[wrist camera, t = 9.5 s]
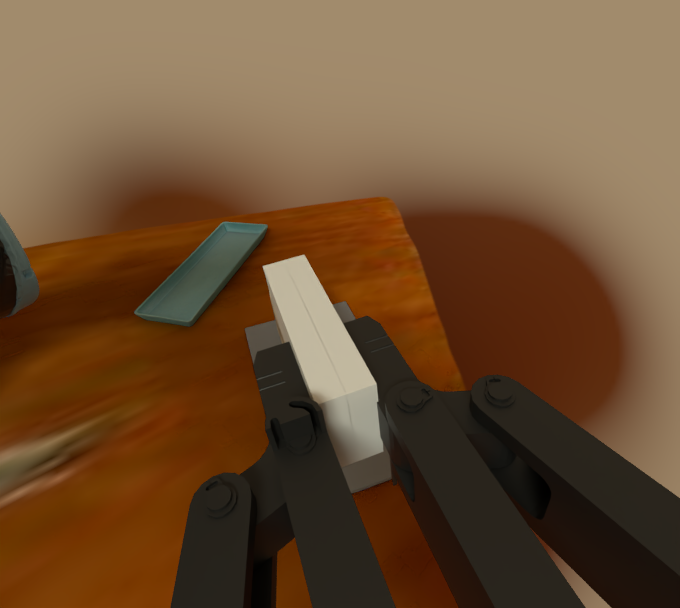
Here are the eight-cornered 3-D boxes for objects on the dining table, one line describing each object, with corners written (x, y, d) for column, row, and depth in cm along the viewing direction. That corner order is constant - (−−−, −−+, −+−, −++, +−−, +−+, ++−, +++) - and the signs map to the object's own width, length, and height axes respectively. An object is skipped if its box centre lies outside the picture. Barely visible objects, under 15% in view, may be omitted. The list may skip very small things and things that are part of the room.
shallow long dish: (194, 333, 58) (188, 319, 57) (137, 324, 61) (130, 311, 59) (271, 236, 78) (268, 224, 76) (226, 233, 80) (222, 221, 78)
